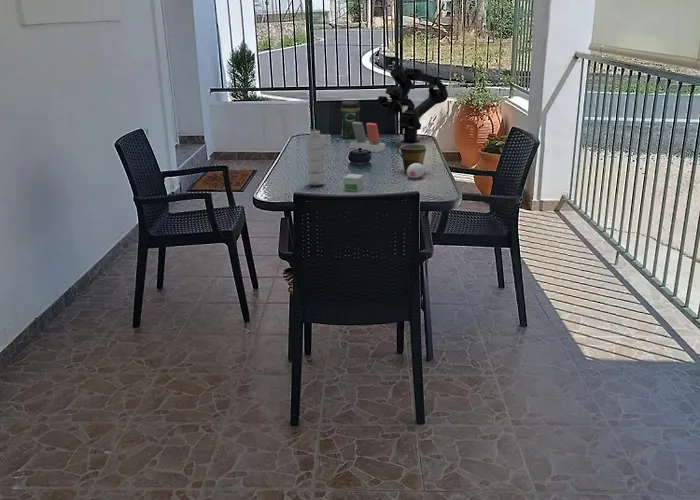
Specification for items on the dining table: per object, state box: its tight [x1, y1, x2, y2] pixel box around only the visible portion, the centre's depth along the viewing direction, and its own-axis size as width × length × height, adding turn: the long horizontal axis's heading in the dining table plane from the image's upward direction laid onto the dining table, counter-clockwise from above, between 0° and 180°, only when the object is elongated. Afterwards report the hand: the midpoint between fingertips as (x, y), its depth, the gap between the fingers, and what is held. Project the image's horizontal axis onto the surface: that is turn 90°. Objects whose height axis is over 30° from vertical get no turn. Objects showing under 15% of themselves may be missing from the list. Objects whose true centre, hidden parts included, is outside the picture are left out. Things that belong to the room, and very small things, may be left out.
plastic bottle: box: [306, 129, 326, 187], centre depth 234 cm, size 6×7×20 cm
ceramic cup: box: [396, 143, 427, 174], centre depth 254 cm, size 13×10×10 cm
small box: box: [343, 173, 365, 192], centre depth 231 cm, size 6×6×5 cm
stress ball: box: [406, 163, 425, 180], centre depth 245 cm, size 8×8×7 cm
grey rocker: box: [352, 121, 368, 142], centre depth 297 cm, size 2×5×9 cm, turn 47°
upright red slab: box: [365, 122, 381, 144], centre depth 292 cm, size 2×5×9 cm, turn 47°
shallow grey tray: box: [350, 140, 386, 153], centre depth 298 cm, size 7×15×3 cm, turn 47°
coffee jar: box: [340, 99, 361, 140], centre depth 323 cm, size 10×8×19 cm
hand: (387, 117), depth 298 cm, fingers closed
